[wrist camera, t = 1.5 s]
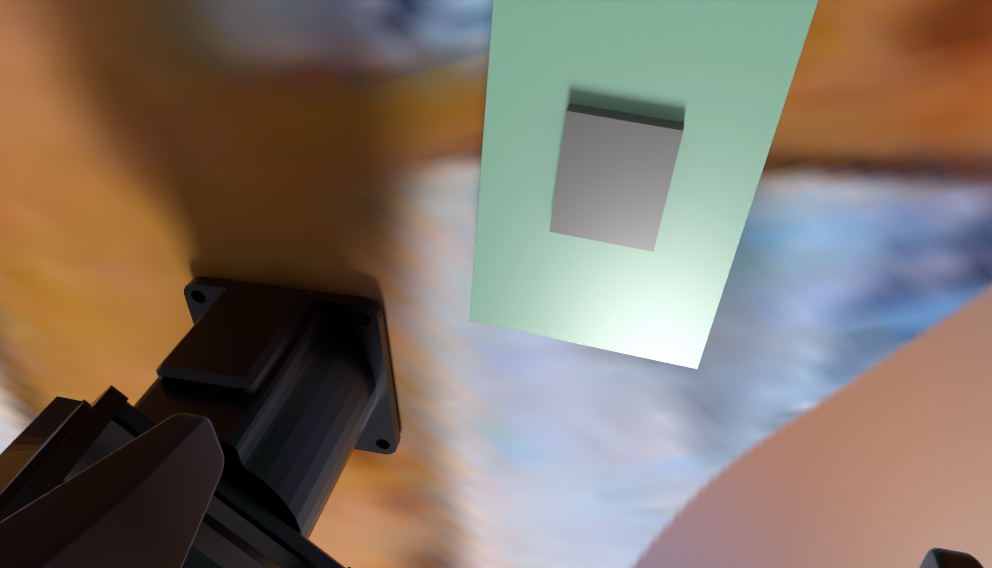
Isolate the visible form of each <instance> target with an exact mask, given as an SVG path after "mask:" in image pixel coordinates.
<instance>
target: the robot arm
mask: <svg viewBox="0 0 992 568" xmlns="http://www.w3.org/2000/svg"><path fill="white" fill-rule="evenodd" d="M201 292H202V293H203V294H204V295H203V294H202V293H201ZM184 295H185V298H186V301H187V304H188V307H189V311H190V314H191V317H192V320H193V323H194V326H193V327H192V328H191V329H190V331H189V332H188V333H187V334H186V335H185V336H184V338H183V339H182V340H181V341H180V342H179V343H178V344H177V346H176V347H175V348H174V349H173V350H172V351H171V353H170V354H169V355H168V356H167V357H166V358H165V359H164V361H163V362H162V363H161V364H160V365H159V366H158V368H157V370H156V372H157V374H158V378H157V379H156V380H155V382H154V383H153V384H152V385H151V386H150V388H149V389H148V390H147V391H146V392H145V393H144V395H143V396H142V397H141V398H140V399H139V400H138V402H137V403H136V404H135V405H134V406H132V405H131V404H129V403H128V402H127V400H128V399H129V398H128V397H126V396H125V395H124V394H122V393H121V392H120V391H118V390H117V389H116V388H115V387H113V386H112V385H111V386H110V387H109V388H108V389H107V390H106V391H104V392H103V393H102V394H101V395H100V396H99V397H98V398H97V399H96V400H95V401H94V402H93V403H92V404H90V403H88V402H87V401H86V400H83V401H78V400H73V399H68V398H63V397H58V396H57V397H56V398H55V399H54V400H53V401H52V402H51V403H50V404H49V405H48V406H47V407H46V408H45V409H44V410H43V411H42V412H41V413H40V414H39V415H38V416H37V417H36V418H35V420H34V421H33V422H32V423H31V424H30V425H29V426H28V427H27V428H26V429H25V430H24V431H23V432H22V433H21V434H20V435H19V436H18V437H17V438H16V439H15V440H14V441H13V442H12V443H11V444H10V445H9V446H8V447H7V448H6V449H5V450H4V451H3V452H2V453H1V454H0V568H345V567H344V566H343V565H341V564H340V563H339V562H337V561H336V560H335V559H333V558H332V557H331V556H329V555H328V554H327V553H325V552H324V551H323V550H321V549H320V548H319V547H318V546H316V545H315V544H314V543H312V542H311V541H310V540H308V539H309V537H310V535H311V533H312V531H313V529H314V527H315V525H316V523H317V521H318V519H319V517H320V515H321V513H322V511H323V509H324V507H325V505H326V503H327V501H328V499H329V497H330V495H331V493H332V491H333V489H334V487H335V485H336V483H337V481H338V479H339V477H340V475H341V473H342V471H343V469H344V467H345V465H346V463H347V461H348V459H349V457H350V455H351V453H352V451H353V449H358V450H364V451H370V452H375V453H381V454H391V453H394V452H395V451H396V449H397V447H398V445H399V442H400V432H399V425H398V417H397V410H396V403H395V396H394V389H393V382H392V375H391V368H390V361H389V354H388V347H387V339H386V332H385V325H384V318H383V312H382V309H381V307H380V306H379V305H378V304H377V303H376V302H375V301H373V300H371V299H368V298H364V297H356V296H348V295H340V294H333V293H325V292H317V291H309V290H302V289H294V288H286V287H278V286H270V285H263V284H255V283H247V282H239V281H232V280H224V279H216V278H208V277H195V278H193V279H192V280H191V281H190V282H189V283H188V284H187V285H186V287H185V289H184ZM361 312H363V313H366V314H367V315H368V316H369V317H366V316H364V315H362V314H361ZM348 568H351V567H348ZM920 568H983V566H982V565H981V564H980V562H979V561H978V560H976V558H974V557H973V556H971V555H970V554H967V553H963V552H958V551H952V550H947V549H941V548H933V549H931V550H929V551H928V553H927V554H926V556H925V558H924V560H923V562H922V563H921V566H920Z"/></svg>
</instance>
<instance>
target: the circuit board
mask: <svg viewBox="0 0 992 568" xmlns="http://www.w3.org/2000/svg"><path fill="white" fill-rule="evenodd" d="M817 2H818V0H493V12H492V25H491V38H490V52H489V65H488V79H487V92H486V106H485V119H484V133H483V146H482V160H481V173H480V187H479V200H478V214H477V227H476V241H475V254H474V268H473V281H472V295H471V308H470V321H473V322H478V323H483V324H487V325H492V326H497V327H502V328H506V329H511V330H516V331H521V332H525V333H530V334H535V335H539V336H544V337H549V338H554V339H558V340H563V341H568V342H572V343H577V344H582V345H587V346H591V347H596V348H601V349H605V350H610V351H615V352H620V353H624V354H629V355H634V356H638V357H643V358H648V359H653V360H657V361H662V362H667V363H671V364H676V365H681V366H686V367H690V368H695V369H697V368H698V365H699V362H700V359H701V356H702V353H703V350H704V347H705V344H706V341H707V338H708V335H709V332H710V329H711V326H712V323H713V320H714V317H715V314H716V311H717V307H718V304H719V301H720V298H721V295H722V292H723V289H724V286H725V283H726V280H727V277H728V274H729V271H730V268H731V265H732V262H733V259H734V256H735V253H736V250H737V246H738V243H739V240H740V237H741V234H742V231H743V228H744V225H745V222H746V219H747V216H748V213H749V210H750V207H751V204H752V201H753V198H754V195H755V192H756V189H757V185H758V182H759V179H760V176H761V173H762V170H763V167H764V164H765V161H766V158H767V155H768V152H769V149H770V146H771V143H772V140H773V137H774V134H775V131H776V128H777V124H778V121H779V118H780V115H781V112H782V109H783V106H784V103H785V100H786V97H787V94H788V91H789V88H790V85H791V82H792V79H793V76H794V73H795V70H796V67H797V63H798V60H799V57H800V54H801V51H802V48H803V45H804V42H805V39H806V36H807V33H808V30H809V27H810V24H811V21H812V18H813V15H814V12H815V9H816V6H817Z"/></svg>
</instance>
